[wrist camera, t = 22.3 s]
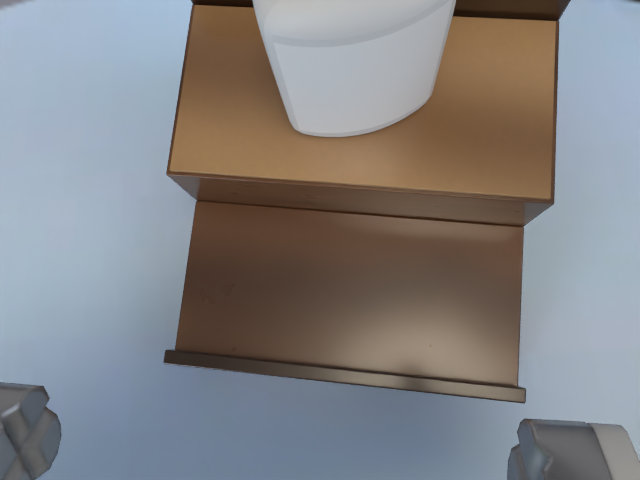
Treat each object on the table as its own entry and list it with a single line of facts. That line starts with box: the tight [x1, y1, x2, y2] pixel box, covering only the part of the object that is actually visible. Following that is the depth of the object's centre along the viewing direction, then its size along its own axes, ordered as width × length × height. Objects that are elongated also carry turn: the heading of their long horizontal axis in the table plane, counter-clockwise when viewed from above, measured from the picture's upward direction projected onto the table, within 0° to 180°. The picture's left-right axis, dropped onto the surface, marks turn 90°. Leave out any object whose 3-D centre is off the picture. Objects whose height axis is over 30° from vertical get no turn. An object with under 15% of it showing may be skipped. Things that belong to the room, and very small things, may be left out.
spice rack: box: [164, 0, 571, 403], centre depth 24 cm, size 16×15×10 cm
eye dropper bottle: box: [252, 0, 456, 137], centre depth 16 cm, size 4×6×12 cm
